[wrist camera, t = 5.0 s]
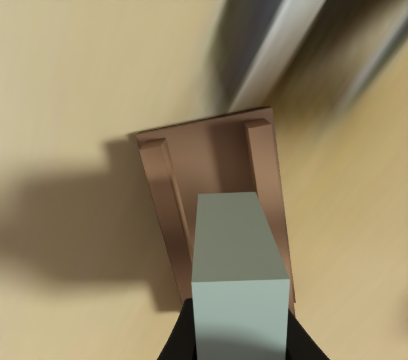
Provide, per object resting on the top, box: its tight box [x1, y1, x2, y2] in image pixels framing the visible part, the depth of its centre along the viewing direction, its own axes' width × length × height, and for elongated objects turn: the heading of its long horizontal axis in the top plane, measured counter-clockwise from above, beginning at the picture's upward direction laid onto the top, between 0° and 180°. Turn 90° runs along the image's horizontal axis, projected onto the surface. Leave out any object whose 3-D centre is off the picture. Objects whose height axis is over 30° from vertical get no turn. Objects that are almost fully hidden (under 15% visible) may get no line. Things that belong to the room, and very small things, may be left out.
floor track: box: [136, 107, 296, 316], centre depth 19 cm, size 14×8×3 cm, turn 11°
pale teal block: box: [191, 192, 290, 360], centre depth 12 cm, size 9×3×6 cm, turn 3°
